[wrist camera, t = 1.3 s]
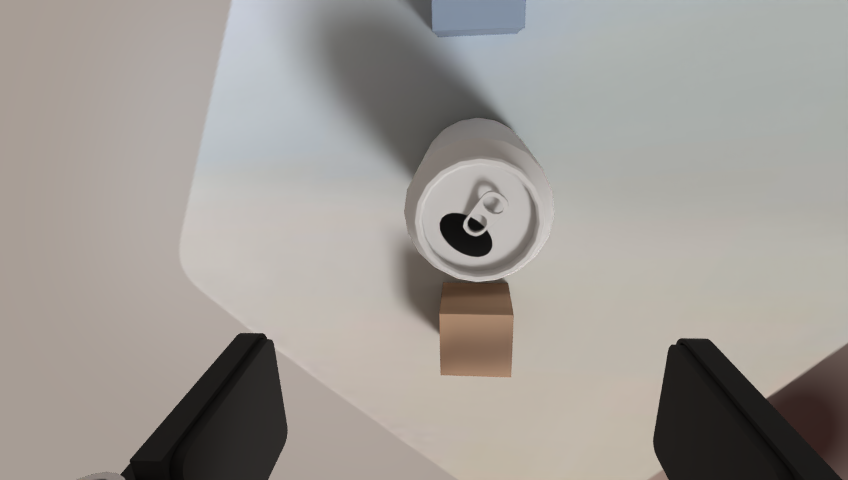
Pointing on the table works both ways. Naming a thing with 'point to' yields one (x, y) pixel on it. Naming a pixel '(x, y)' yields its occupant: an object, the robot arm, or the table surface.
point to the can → (479, 202)
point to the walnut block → (476, 329)
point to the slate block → (477, 17)
